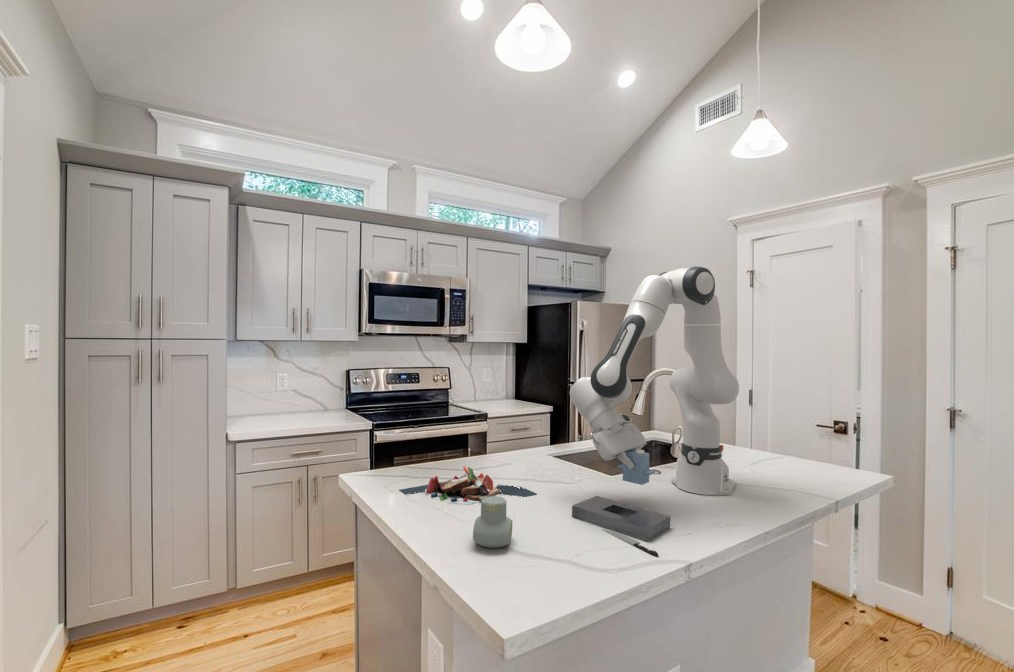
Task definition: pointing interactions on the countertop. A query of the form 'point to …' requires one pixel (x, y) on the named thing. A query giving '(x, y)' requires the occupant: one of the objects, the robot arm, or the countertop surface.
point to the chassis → (622, 517)
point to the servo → (637, 467)
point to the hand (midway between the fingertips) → (638, 465)
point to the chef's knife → (631, 542)
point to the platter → (466, 488)
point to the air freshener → (493, 523)
